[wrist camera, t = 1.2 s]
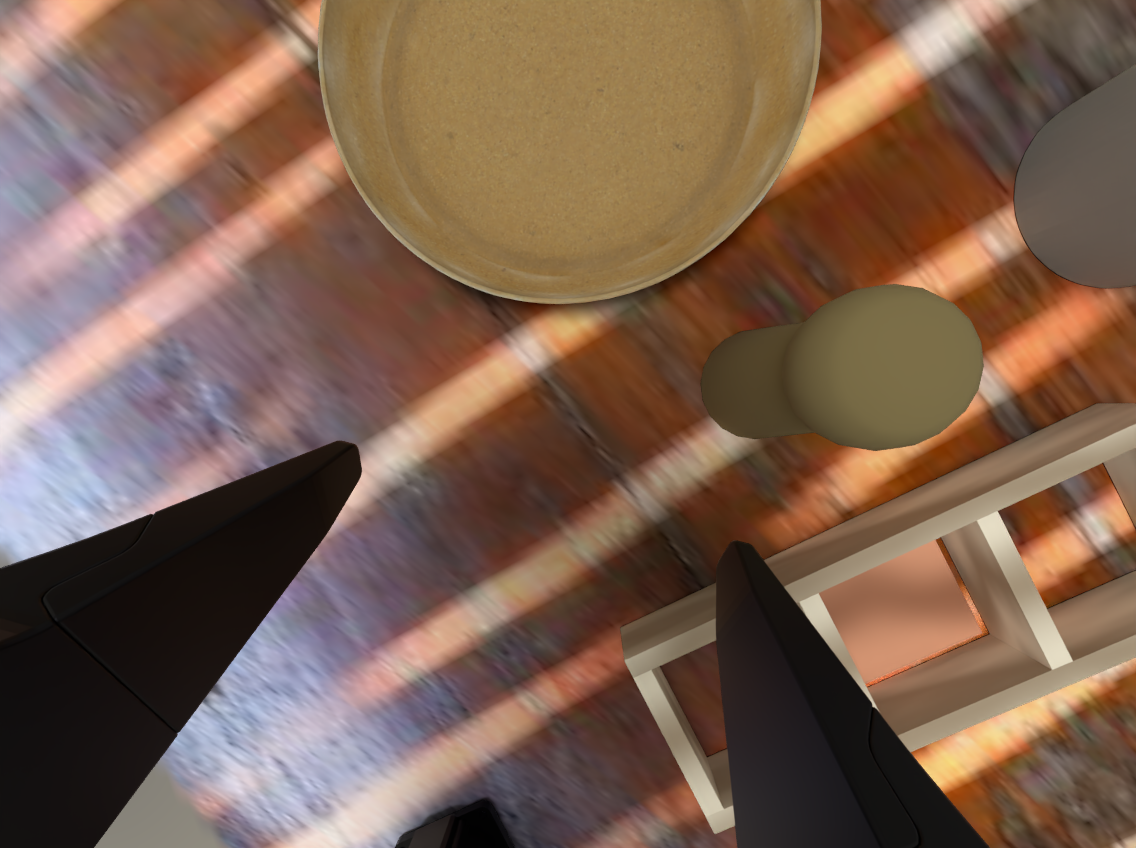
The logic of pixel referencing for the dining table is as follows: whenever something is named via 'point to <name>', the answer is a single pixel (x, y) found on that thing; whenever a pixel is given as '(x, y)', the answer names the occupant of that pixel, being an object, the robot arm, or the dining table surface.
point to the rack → (926, 602)
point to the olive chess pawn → (850, 371)
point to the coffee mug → (1084, 188)
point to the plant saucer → (565, 130)
